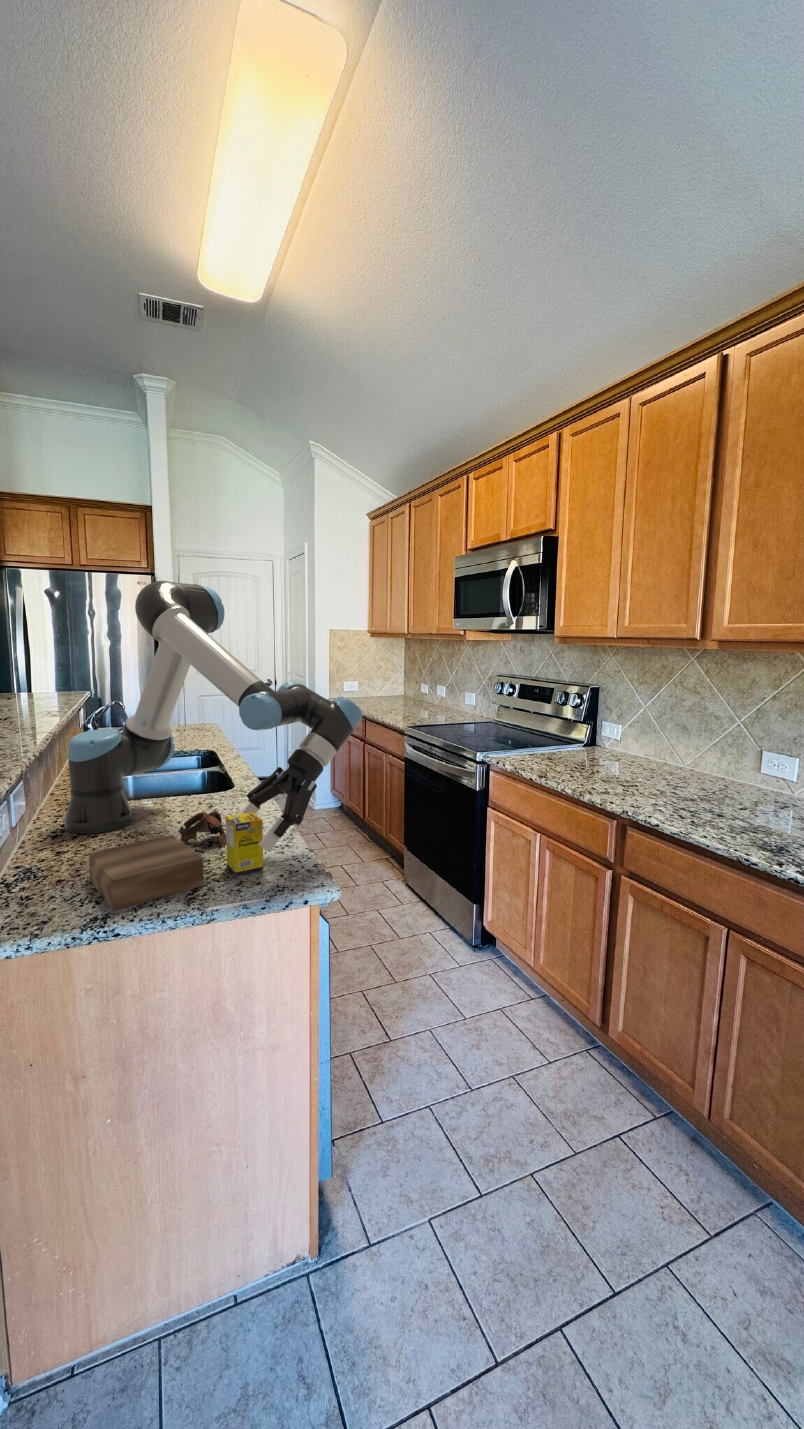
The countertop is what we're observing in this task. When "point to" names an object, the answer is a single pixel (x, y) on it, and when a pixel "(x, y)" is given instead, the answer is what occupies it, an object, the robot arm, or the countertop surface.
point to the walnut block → (145, 871)
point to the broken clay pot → (203, 826)
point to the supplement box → (244, 843)
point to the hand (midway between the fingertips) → (248, 839)
